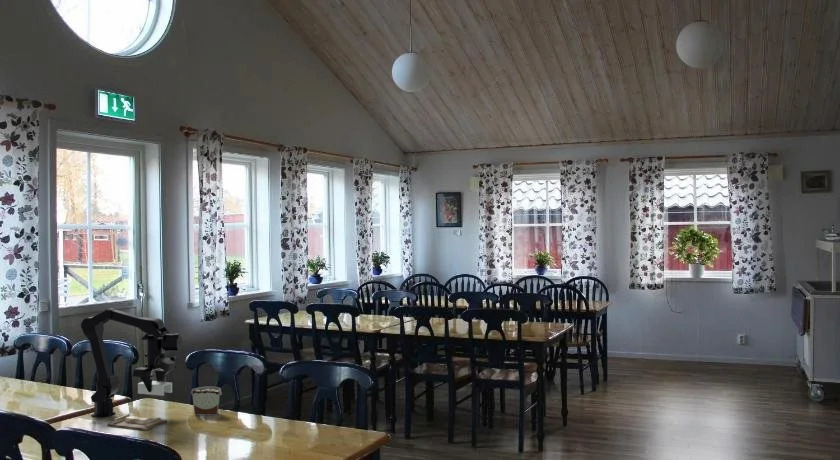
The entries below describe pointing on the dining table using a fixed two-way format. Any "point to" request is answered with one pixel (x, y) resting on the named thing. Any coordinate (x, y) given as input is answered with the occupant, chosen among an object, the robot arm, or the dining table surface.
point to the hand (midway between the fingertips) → (155, 390)
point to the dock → (135, 426)
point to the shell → (156, 388)
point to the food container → (206, 400)
